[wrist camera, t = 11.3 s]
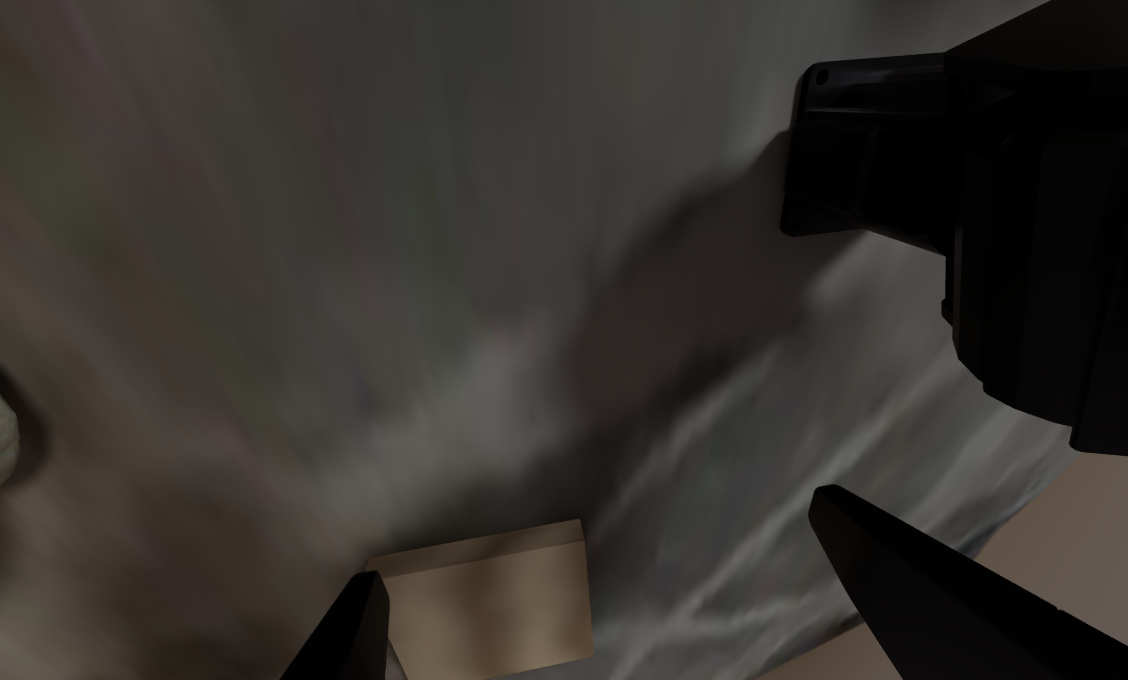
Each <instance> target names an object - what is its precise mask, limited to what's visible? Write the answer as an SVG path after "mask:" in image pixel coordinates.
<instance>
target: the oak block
mask: <svg viewBox="0 0 1128 680" xmlns="http://www.w3.org/2000/svg"><path fill="white" fill-rule="evenodd" d="M371 570H377V571H378V572H379V573H380V575H381V578H382V580H383V582H384V585H385V587H386V589H387V592H388V594H389V598H390V615H389V629H388V638H389V640H390V642H391V644H392V646H393V648H394V651H395V653H396V655H397V657H398V659H399V661H400V663H401V665H402V668H403V670H404V672H405V674H406V676H407V678H408V680H486V679H491V678H495V677H500V676H505V675H509V674H514V673H518V672H523V671H528V670H532V669H537V668H541V667H546V666H551V665H555V664H560V663H564V662H569V661H574V660H578V659H583V658H587V657H592V656H594V649H593V636H592V624H591V611H590V599H589V586H588V573H587V561H586V548H585V539H584V534H583V530H582V526H581V521H580V519H575V520H570V521H564V522H559V523H553V524H548V525H543V526H537V527H532V528H527V529H521V530H516V531H510V532H505V533H500V534H494V535H489V536H484V537H478V538H473V539H467V540H462V541H457V542H451V543H446V544H440V545H435V546H430V547H424V548H419V549H414V550H408V551H403V552H397V553H392V554H387V555H381V556H376V557H371V558H368V562H367V566H366V570H365V571H371Z"/></svg>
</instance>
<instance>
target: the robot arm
mask: <svg viewBox="0 0 1128 680" xmlns="http://www.w3.org/2000/svg"><path fill="white" fill-rule="evenodd" d="M819 71H820V72H821V75H822V78H821V80H820V82H819V83H818V84H817V83H816V76H817V74H818V73H819ZM784 191H785V196H784V203H783V209H782V215H781V222H780V229H781V231H782V232H783V233H784V234H786V235H788V236H792V237H796V236H804V235H812V234H820V233H829V232H837V231H845V230H853V229H861V228H863V229H866V230H869V231H872V232H874V233H877V234H880V235H883V236H886V237H889V238H892V239H895V240H898V241H901V242H904V243H907V244H910V245H913V246H916V247H919V248H922V249H925V250H928V251H931V252H934V253H937V254H940V255H942V256H945V257H946V281H945V299H944V300H942V302H941V315H942V316H943V318H944V319H945V320H946V321H947V322H948V323H949V324H950V325H951V326H952V327H953V333H952V339H953V343H954V346H955V350H956V353H957V357H958V359H959V360H960V361H961V362H962V363H963V364H964V365H965V366H966V367H967V368H968V369H969V370H970V372H971V373H972V374H973V375H974V376H975V377H976V378H977V379H978V380H980V381H981V382H983V391H984V392H985V393H986V394H987V395H989V396H991V397H993V398H995V399H997V400H999V401H1001V402H1002V403H1004V404H1006V405H1008V406H1010V407H1012V408H1014V409H1017V410H1019V411H1022V412H1025V413H1028V414H1031V415H1034V416H1037V417H1039V418H1042V419H1045V420H1048V421H1051V422H1054V423H1058V424H1062V425H1066V426H1071V427H1072V432H1071V436H1070V441H1069V445H1070V447H1072V448H1073V449H1075V450H1077V451H1080V452H1086V453H1098V454H1110V455H1120V456H1128V0H1050V1H1048V2H1046V3H1044V4H1042V5H1040V6H1038V7H1036V8H1034V9H1032V10H1030V11H1028V12H1026V13H1024V14H1022V15H1019V16H1017V17H1015V18H1013V19H1011V20H1009V21H1007V22H1005V23H1003V24H1001V25H999V26H997V27H995V28H993V29H991V30H989V31H987V32H985V33H983V34H980V35H978V36H976V37H974V38H972V39H970V40H968V41H966V42H964V43H962V44H960V45H958V46H956V47H954V48H952V49H950V50H948V51H946V52H942V53H930V54H917V55H905V56H892V57H880V58H867V59H855V60H842V61H830V62H819V63H815V64H813V65H811V66H810V67H809V68H808V69H807V71H806V72H805V74H804V78H803V82H802V89H801V95H800V101H799V108H798V114H797V120H796V125H795V127H794V129H793V135H792V141H791V147H790V154H789V160H788V167H787V173H786V179H785V186H784ZM794 220H796V224H795V226H794V227H793V228H791V224H792V222H793V221H794ZM808 517H809V521H810V524H811V526H812V528H813V530H814V532H815V534H816V536H817V538H818V540H819V542H820V543H821V545H822V547H823V549H824V551H825V553H826V555H827V557H828V558H829V560H830V562H831V564H832V566H833V568H834V570H835V572H836V574H837V575H838V577H839V579H840V581H841V583H842V585H843V587H844V588H845V590H846V592H847V594H848V595H849V597H850V599H851V600H852V602H853V604H854V605H855V607H856V608H857V610H858V611H859V613H860V614H861V616H862V618H863V619H864V621H865V622H866V624H867V625H868V627H869V628H870V630H871V631H872V633H873V634H874V636H875V637H876V639H877V641H878V642H879V644H880V645H881V647H882V648H883V650H884V651H885V653H886V654H887V656H888V657H889V659H890V660H891V662H892V664H893V665H894V667H895V668H896V670H897V671H898V673H899V674H900V676H901V677H902V679H903V680H1128V646H1127V645H1125V644H1123V643H1121V642H1120V641H1118V640H1116V639H1114V638H1112V637H1110V636H1108V635H1107V634H1105V633H1103V632H1101V631H1099V630H1097V629H1096V628H1094V627H1092V626H1090V625H1088V624H1086V623H1085V622H1083V621H1081V620H1079V619H1078V618H1076V617H1074V616H1072V615H1070V614H1069V613H1067V612H1065V611H1063V610H1058V609H1057V607H1055V606H1054V605H1052V604H1050V603H1049V602H1047V601H1045V600H1043V599H1041V598H1039V597H1038V596H1036V595H1034V594H1032V593H1031V592H1029V591H1027V590H1025V589H1024V588H1022V587H1020V586H1018V585H1016V584H1015V583H1013V582H1011V581H1009V580H1007V579H1005V578H1004V577H1002V576H1000V575H998V574H997V573H995V572H993V571H991V570H989V569H988V568H986V567H984V566H982V565H981V564H979V563H977V562H975V561H973V560H972V559H970V558H968V557H966V556H964V555H963V554H961V553H959V552H957V551H955V550H954V549H952V548H950V547H948V546H947V545H945V544H943V543H941V542H939V541H938V540H936V539H934V538H932V537H930V536H929V535H927V534H925V533H923V532H921V531H920V530H918V529H916V528H914V527H912V526H911V525H909V524H907V523H905V522H904V521H902V520H900V519H898V518H896V517H895V516H893V515H891V514H889V513H887V512H886V511H884V510H882V509H880V508H878V507H877V506H875V505H873V504H871V503H869V502H868V501H866V500H864V499H862V498H861V497H859V496H857V495H855V494H853V493H852V492H850V491H848V490H846V489H844V488H843V487H841V486H838V485H835V484H831V485H826V486H820V487H817V488H816V489H815V491H814V494H813V497H812V501H811V505H810V508H809V513H808ZM389 615H390V598H389V594H388V592H387V589H386V587H385V585H384V582H383V580H382V578H381V575H380V573H379V572H378V571H377V570H371V571H365V572H360V573H357V574H355V575H354V576H353V577H352V578H351V579H350V581H349V582H348V583H347V585H346V586H345V588H344V589H343V590H342V592H341V593H340V595H339V596H338V597H337V599H336V600H335V602H334V603H333V605H332V606H331V607H330V609H329V610H328V612H327V613H326V614H325V616H324V617H323V619H322V620H321V621H320V623H319V624H318V626H317V627H316V629H315V630H314V631H313V633H312V634H311V636H310V637H309V638H308V640H307V641H306V643H305V644H304V645H303V647H302V648H301V650H300V651H299V652H298V654H297V655H296V657H295V658H294V660H293V661H292V662H291V664H290V665H289V667H288V668H287V669H286V671H285V672H284V674H283V675H282V676H281V678H280V679H279V680H385V671H386V657H387V643H388V629H389Z"/></svg>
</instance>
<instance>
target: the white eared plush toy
mask: <svg viewBox="0 0 1128 680" xmlns="http://www.w3.org/2000/svg"><path fill="white" fill-rule="evenodd" d="M21 454H22V447H21V437H20V433H19V430H18V420H17V416H16V414H15V412H14V411H13V410H12V409H11V407H10V406H9V405H8V404H7V402H6V401H5V400H4V399H3V397H2V395H1V394H0V486H1V485H2V484H3V483H4V482H5V481H6V480H7V479H8V478H9V477H10V476H11V474H12V473H13V471H14V470H15V468H16V466H17V465H18V463H19V460H20V457H21Z"/></svg>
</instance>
